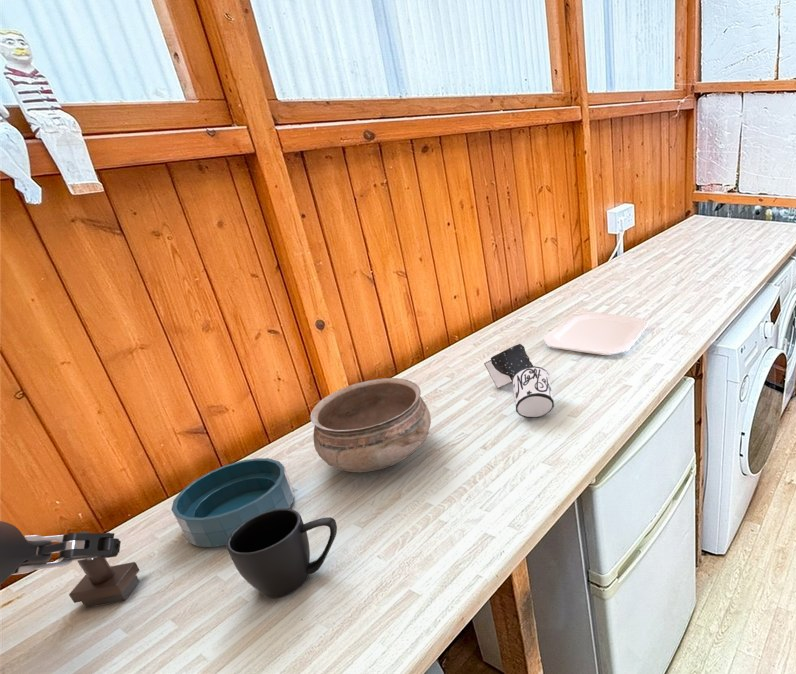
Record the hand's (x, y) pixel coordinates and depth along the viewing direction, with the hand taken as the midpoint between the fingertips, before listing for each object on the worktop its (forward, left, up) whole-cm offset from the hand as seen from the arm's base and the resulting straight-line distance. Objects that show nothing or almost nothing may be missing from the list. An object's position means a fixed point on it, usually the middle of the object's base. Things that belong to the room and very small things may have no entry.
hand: (75, 555), depth 66 cm
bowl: (+11, +13, -9) cm, 20 cm away
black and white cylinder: (+56, +37, -9) cm, 68 cm away
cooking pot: (+30, +23, -9) cm, 39 cm away
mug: (+24, -3, -9) cm, 26 cm away
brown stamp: (0, +1, -9) cm, 9 cm away
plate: (+78, +65, -9) cm, 102 cm away
